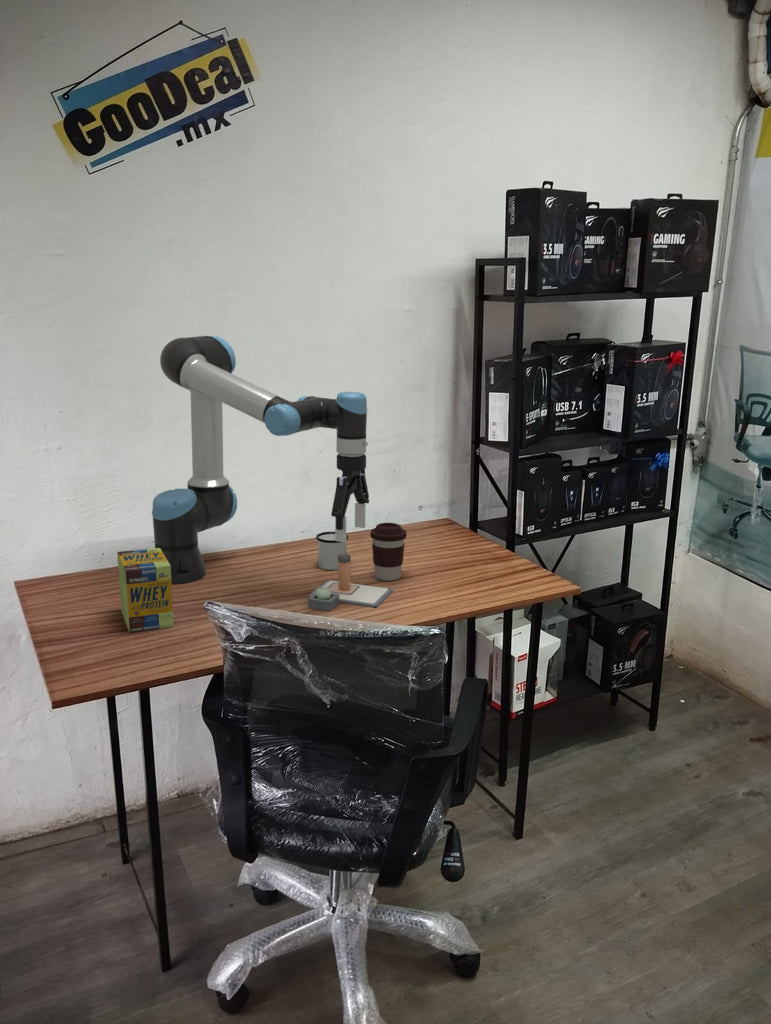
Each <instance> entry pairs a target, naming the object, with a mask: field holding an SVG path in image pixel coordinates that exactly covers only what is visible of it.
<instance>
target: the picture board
mask: <svg viewBox="0 0 771 1024" xmlns="http://www.w3.org/2000/svg"><path fill="white" fill-rule="evenodd" d="M321 587H326V588H330V589H331V593H335V594H339V604H347V605H353V606H355V605H356V606H360V605H361V606H360V607H368V608H374V607H376V608H378V607H379V606H380V605H381V604H382V603H383V602H384V601H385V600H386V599H387V598H388V597H389V596H390V595H391V594H392V593H393V592H394V588H389V587H388V588H387V587H380V586H374V585H373V586H372V585H366V584H360V583H351V589H350V590H349V591H340V590H339V581H337V580H331V579H330V580H329V579H328V580H325V582H323V583H321V585H319V586H318V587H317V588H316V589H314V590H313V591H312V592H310V594H308V595H307V598H308V599H309V598H310V597H311V596H312V595H313V594H315V593H316V592H317V589H318V588H321ZM376 608H375V609H376Z"/></svg>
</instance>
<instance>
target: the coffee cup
mask: <svg viewBox="0 0 771 1024" xmlns="http://www.w3.org/2000/svg"><path fill="white" fill-rule="evenodd" d="M369 536H370V538H371V539H372V543H371V547H372V561H373V565H374V567H373V568H374V569H373V571H374V577H375V578H376V579H377V580H380V581H385V582H392V581H398V580H399V579H400V578H401V577H402V566H403V563H404V552H405V543H404V542H405V539H406V538H407V531H406V529H404V528H402V526H401V525H400V524H398V523H395V522H382V523H378V524H376V526H375V527H374V528H372V529H371V530H370V535H369Z"/></svg>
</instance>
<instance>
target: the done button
mask: <svg viewBox="0 0 771 1024" xmlns="http://www.w3.org/2000/svg"><path fill="white" fill-rule="evenodd" d="M317 588H318V587H317ZM317 588H316V589H317ZM330 598H331V589H330V588H326V587H321V588H318V589H317V599H322V600H329V599H330Z"/></svg>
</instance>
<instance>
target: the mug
mask: <svg viewBox="0 0 771 1024" xmlns="http://www.w3.org/2000/svg"><path fill="white" fill-rule="evenodd" d="M349 536H350V535H348V534H347V533H346V542H339V541H335V531H324V532H320V533H317V534H316V535H315V540H316V541H317V566H318V568H320V569H322V570H326V571H338V555H340V554H348V553H347V551H348V550H347V548H348V547H347V545H348V542H347V541H348V540H349Z"/></svg>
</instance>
